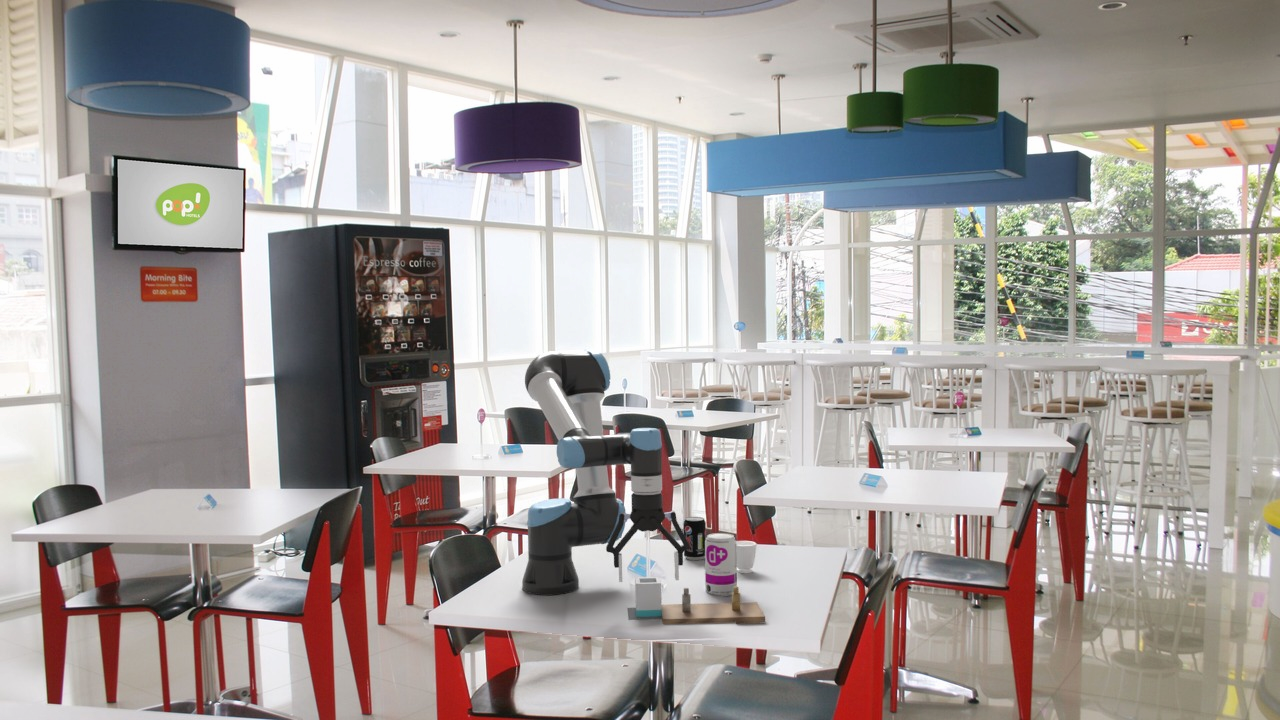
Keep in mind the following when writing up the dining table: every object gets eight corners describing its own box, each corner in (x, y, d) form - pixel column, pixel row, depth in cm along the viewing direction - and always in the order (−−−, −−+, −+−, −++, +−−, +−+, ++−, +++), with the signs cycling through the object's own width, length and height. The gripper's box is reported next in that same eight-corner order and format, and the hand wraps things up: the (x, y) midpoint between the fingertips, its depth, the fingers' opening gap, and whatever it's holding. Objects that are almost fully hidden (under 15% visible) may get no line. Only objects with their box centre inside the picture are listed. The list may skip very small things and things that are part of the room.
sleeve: (636, 617, 235) (636, 583, 235) (635, 609, 241) (635, 577, 241) (661, 616, 236) (661, 583, 235) (660, 609, 242) (659, 576, 241)
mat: (628, 621, 233) (628, 619, 233) (627, 609, 243) (627, 607, 243) (670, 620, 234) (670, 618, 234) (667, 608, 244) (667, 606, 244)
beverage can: (706, 560, 293) (706, 520, 292) (684, 560, 293) (683, 520, 292) (705, 555, 299) (705, 516, 299) (683, 555, 300) (683, 516, 299)
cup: (755, 575, 275) (755, 546, 275) (720, 573, 277) (719, 545, 277) (758, 568, 282) (758, 541, 282) (723, 567, 284) (723, 539, 284)
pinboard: (663, 625, 230) (662, 595, 229) (660, 610, 242) (659, 582, 241) (765, 622, 231) (765, 593, 230) (757, 608, 243) (756, 580, 242)
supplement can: (728, 598, 252) (727, 540, 251) (699, 594, 256) (699, 537, 256) (742, 591, 259) (741, 534, 258) (714, 587, 263) (713, 531, 262)
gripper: (595, 496, 233) (597, 585, 234) (699, 493, 234) (701, 581, 235) (595, 491, 241) (597, 577, 241) (696, 488, 242) (698, 574, 242)
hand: (648, 579), depth 238 cm, fingers open, 13 cm apart
